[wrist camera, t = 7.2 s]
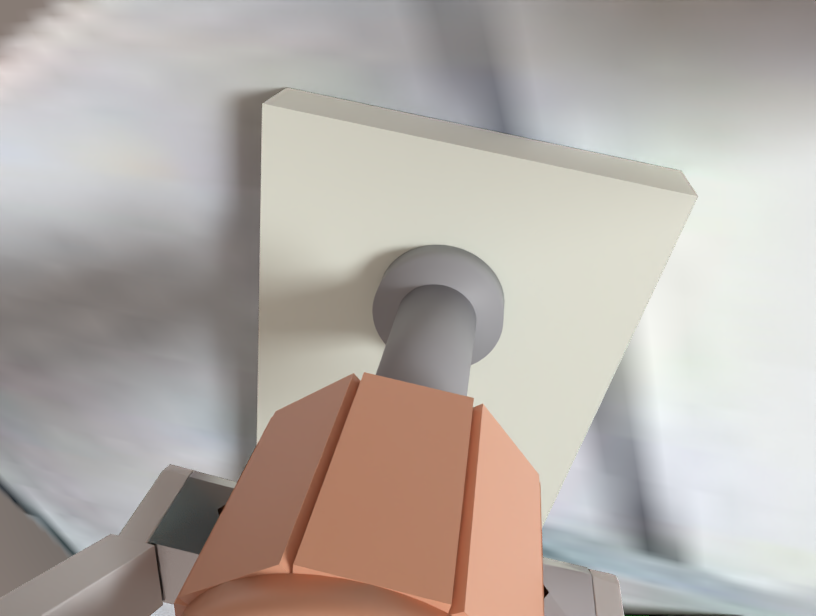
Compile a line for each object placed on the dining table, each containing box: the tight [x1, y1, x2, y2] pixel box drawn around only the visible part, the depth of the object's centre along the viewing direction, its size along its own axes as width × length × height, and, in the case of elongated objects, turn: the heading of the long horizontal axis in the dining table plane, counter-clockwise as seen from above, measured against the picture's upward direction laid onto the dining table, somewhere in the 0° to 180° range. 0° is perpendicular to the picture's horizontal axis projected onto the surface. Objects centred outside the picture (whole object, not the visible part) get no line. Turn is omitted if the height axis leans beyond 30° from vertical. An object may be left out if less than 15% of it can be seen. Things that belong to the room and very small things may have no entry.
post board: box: [257, 88, 698, 527], centre depth 20 cm, size 20×12×8 cm, turn 171°
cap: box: [174, 372, 544, 616], centre depth 10 cm, size 6×6×5 cm
